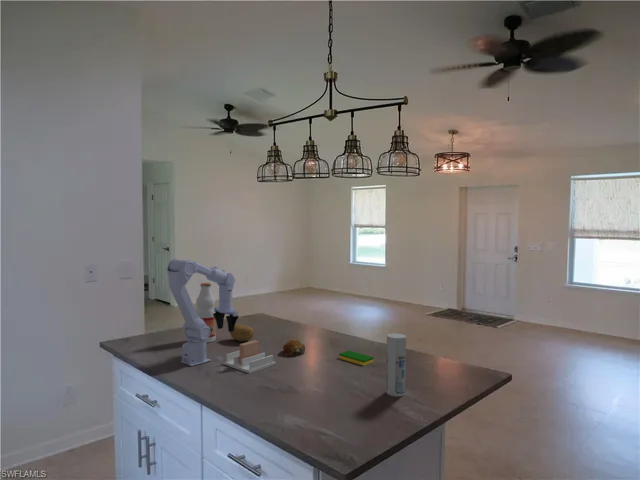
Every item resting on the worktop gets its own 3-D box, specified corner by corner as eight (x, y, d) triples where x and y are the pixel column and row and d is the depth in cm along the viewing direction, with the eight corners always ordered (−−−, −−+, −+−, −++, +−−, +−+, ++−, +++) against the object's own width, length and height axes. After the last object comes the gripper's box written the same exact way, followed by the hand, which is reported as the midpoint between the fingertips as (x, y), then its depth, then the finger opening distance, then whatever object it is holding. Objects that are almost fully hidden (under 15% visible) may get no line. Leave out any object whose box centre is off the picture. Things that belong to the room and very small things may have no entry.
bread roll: (305, 359, 198) (306, 341, 202) (303, 355, 189) (304, 337, 192) (284, 358, 199) (285, 340, 202) (280, 355, 190) (282, 336, 193)
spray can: (391, 387, 156) (392, 332, 155) (408, 392, 152) (409, 335, 151) (382, 393, 151) (383, 335, 150) (399, 398, 147) (400, 339, 146)
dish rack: (249, 373, 169) (249, 363, 169) (223, 364, 179) (223, 354, 179) (275, 364, 180) (275, 354, 179) (249, 356, 190) (250, 347, 190)
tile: (243, 365, 175) (243, 345, 175) (239, 363, 177) (239, 344, 177) (258, 360, 181) (258, 341, 181) (254, 359, 183) (254, 340, 183)
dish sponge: (363, 366, 179) (363, 361, 179) (338, 359, 189) (338, 353, 189) (374, 362, 184) (374, 357, 184) (349, 355, 194) (349, 350, 194)
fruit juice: (219, 338, 217) (219, 282, 215) (208, 344, 208) (208, 285, 207) (203, 337, 220) (203, 281, 219) (191, 341, 211) (191, 284, 210)
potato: (243, 346, 205) (243, 329, 205) (224, 340, 214) (224, 324, 214) (259, 341, 212) (259, 325, 212) (240, 336, 222) (240, 320, 221)
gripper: (243, 300, 193) (243, 331, 194) (222, 296, 203) (222, 325, 203) (230, 302, 188) (230, 334, 188) (210, 298, 197) (210, 328, 198)
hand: (225, 329), depth 195 cm, fingers open, 7 cm apart
